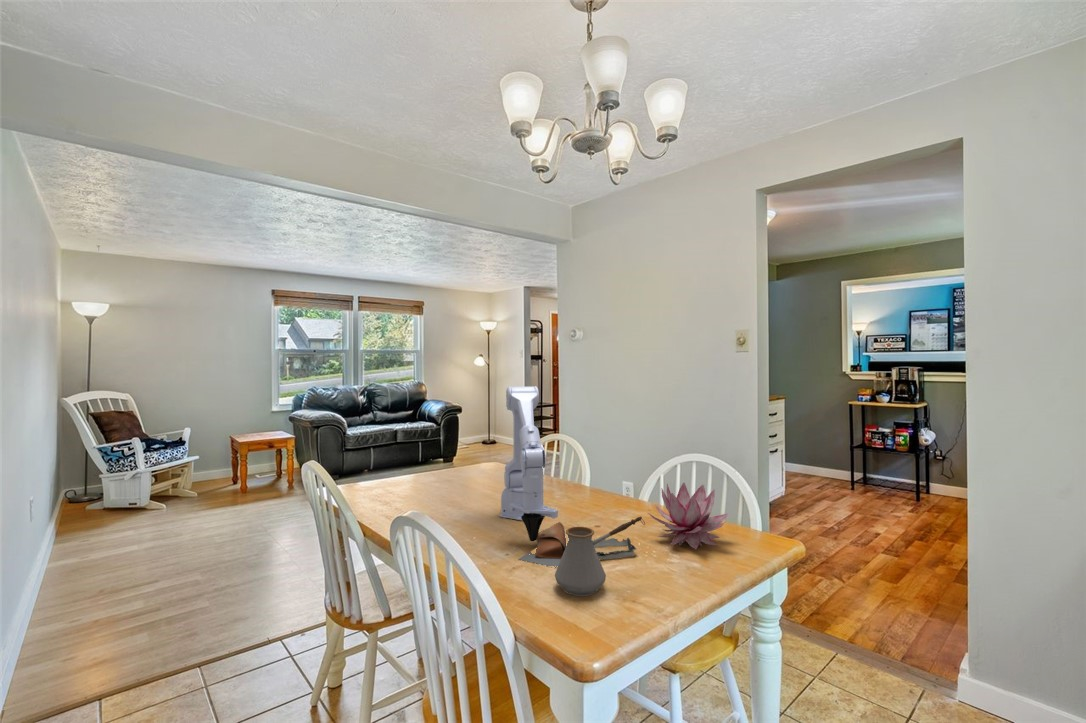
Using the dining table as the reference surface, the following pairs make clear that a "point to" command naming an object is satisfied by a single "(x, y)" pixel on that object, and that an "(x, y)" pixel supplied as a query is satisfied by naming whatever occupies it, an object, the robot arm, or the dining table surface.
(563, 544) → the sunglasses case
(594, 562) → the coffee pot
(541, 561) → the rubber mat
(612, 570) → the dining table surface
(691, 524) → the decorative flower
